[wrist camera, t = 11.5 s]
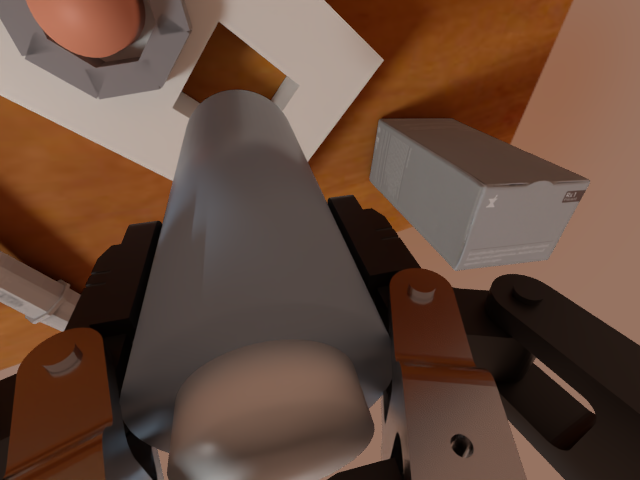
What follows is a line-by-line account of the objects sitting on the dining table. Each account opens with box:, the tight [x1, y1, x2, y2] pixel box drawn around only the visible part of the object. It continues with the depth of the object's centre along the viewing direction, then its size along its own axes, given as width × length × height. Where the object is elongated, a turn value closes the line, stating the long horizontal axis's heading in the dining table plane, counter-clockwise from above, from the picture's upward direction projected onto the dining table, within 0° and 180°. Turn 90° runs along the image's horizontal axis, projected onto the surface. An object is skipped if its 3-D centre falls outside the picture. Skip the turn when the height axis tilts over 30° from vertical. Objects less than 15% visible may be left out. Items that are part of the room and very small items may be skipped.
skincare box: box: [370, 118, 590, 271], centre depth 28 cm, size 8×7×16 cm
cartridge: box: [119, 90, 392, 480], centre depth 10 cm, size 5×5×13 cm
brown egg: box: [26, 0, 145, 58], centre depth 17 cm, size 4×4×4 cm
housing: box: [0, 0, 384, 181], centre depth 23 cm, size 20×16×7 cm
